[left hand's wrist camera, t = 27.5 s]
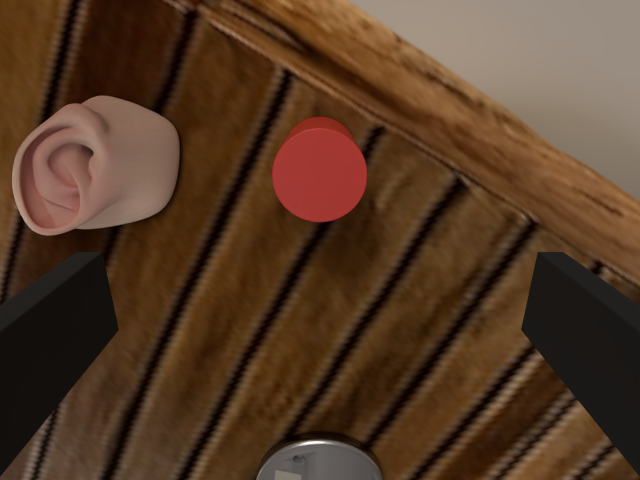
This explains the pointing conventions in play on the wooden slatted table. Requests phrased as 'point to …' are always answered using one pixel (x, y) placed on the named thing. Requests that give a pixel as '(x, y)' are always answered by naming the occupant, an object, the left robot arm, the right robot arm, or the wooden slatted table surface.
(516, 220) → the wooden slatted table surface
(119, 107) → the anatomical model
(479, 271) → the wooden slatted table surface
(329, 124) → the cylinder
